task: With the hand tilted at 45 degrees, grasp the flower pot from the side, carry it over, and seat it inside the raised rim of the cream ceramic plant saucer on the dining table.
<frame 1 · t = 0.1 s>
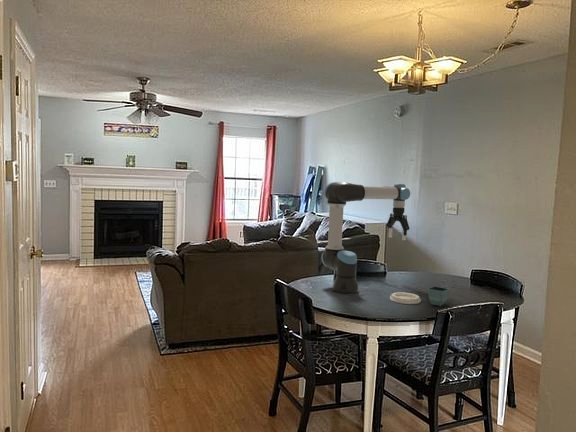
hand: (396, 238, 328), 28 cm above the table, tool pointing down, fingers open, 13 cm apart
flower pot: (437, 304, 272), on the table
plant saucer: (405, 300, 279), on the table
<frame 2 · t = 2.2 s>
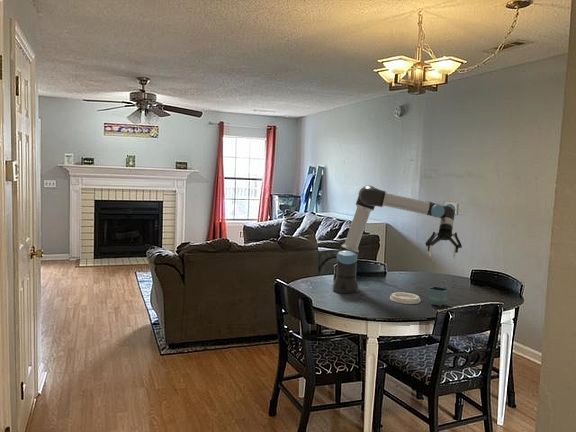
hand: (441, 256, 282), 25 cm above the table, tool tilted 40°, fingers open, 13 cm apart
nothing on the table moved.
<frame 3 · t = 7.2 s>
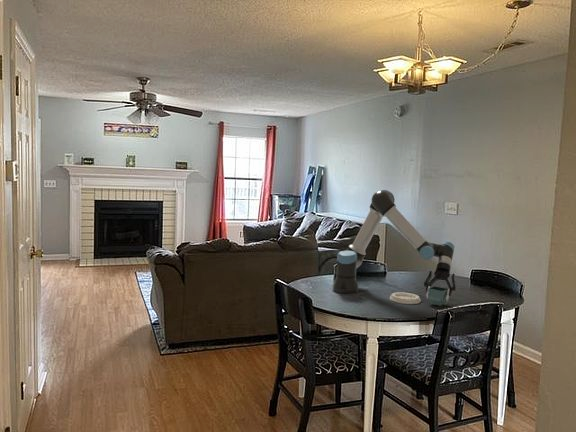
hand: (437, 298, 269), 4 cm above the table, tool tilted 45°, fingers closed on flower pot, 10 cm apart
flower pot: (437, 304, 272), on the table, touching gripper
when the fingers open (6 cm above the table, at t = 13.2 s): flower pot stays where it is, resting on plant saucer.
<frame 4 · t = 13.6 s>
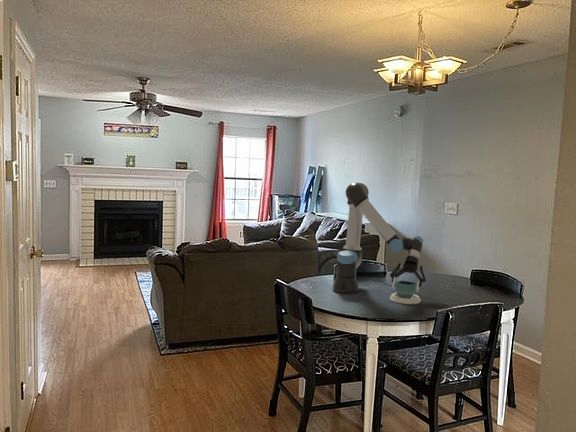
hand: (404, 289, 276), 7 cm above the table, tool tilted 45°, fingers open, 13 cm apart
flower pot: (404, 298, 279), point 1 cm above the table, touching plant saucer
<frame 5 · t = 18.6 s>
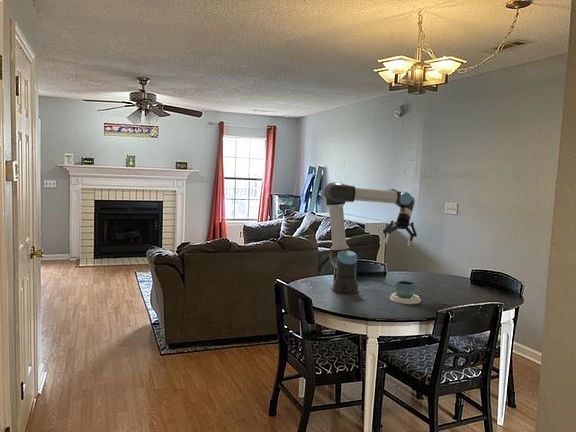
hand: (396, 243, 294), 30 cm above the table, tool tilted 45°, fingers open, 13 cm apart
nothing on the table moved.
at the end: flower pot 0.2 cm off-centre on the plant saucer, point 0.8 cm above the plant saucer's base; flower pot tilted 0°; the gripper is holding nothing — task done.
